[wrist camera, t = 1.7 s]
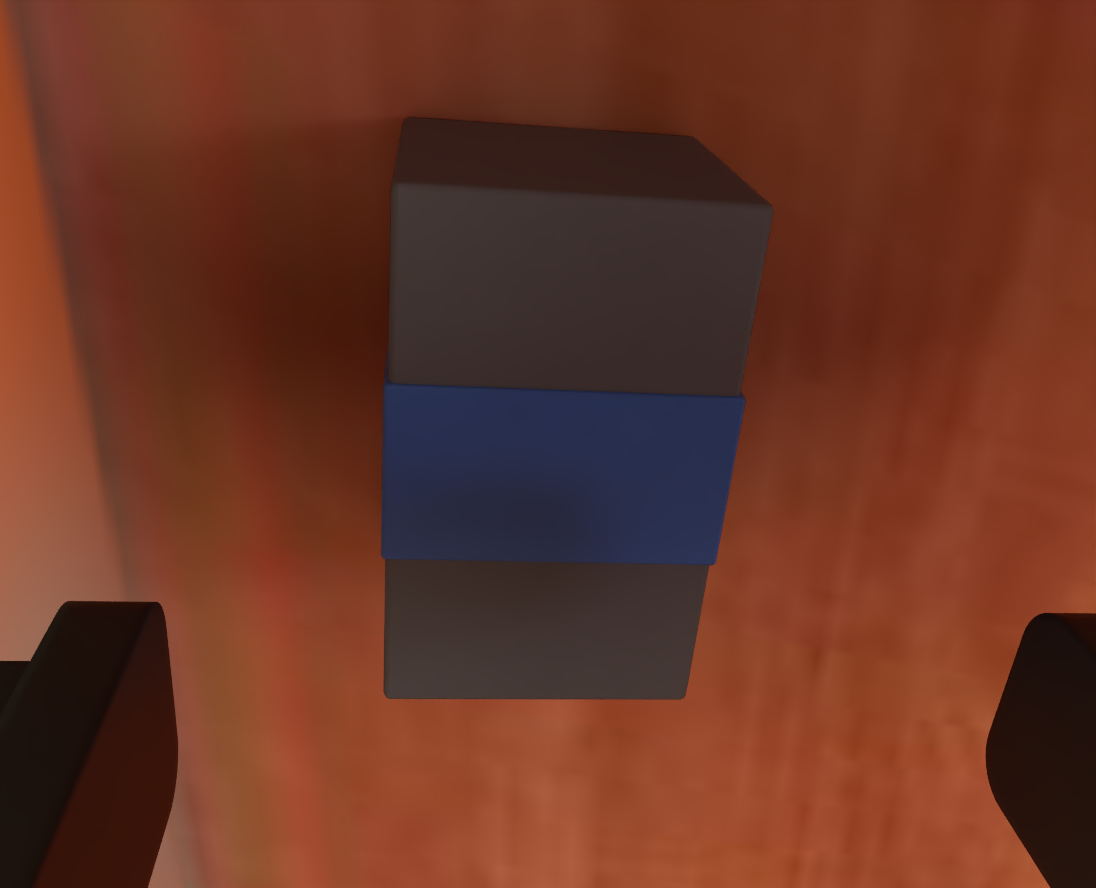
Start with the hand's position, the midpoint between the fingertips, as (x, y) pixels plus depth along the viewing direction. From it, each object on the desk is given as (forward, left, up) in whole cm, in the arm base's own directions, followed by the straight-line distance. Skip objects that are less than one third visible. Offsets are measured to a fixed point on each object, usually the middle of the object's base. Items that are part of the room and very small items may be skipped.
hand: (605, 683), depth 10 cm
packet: (0, 0, -8) cm, 8 cm away
